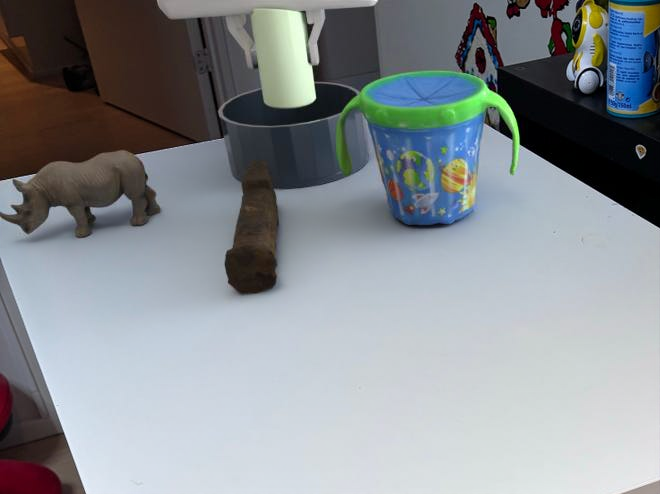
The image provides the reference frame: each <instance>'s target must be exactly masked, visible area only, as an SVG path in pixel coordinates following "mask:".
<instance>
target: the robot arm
mask: <svg viewBox="0 0 660 494" xmlns="http://www.w3.org/2000/svg"><path fill="white" fill-rule="evenodd" d="M378 1H379V0H156V2H157V7H158V8H159V10H160V11H161V12H162V13H163V14H164V15H165V16H166V17H167V18H168V19H170V20H185V19H199V18H201V19H202V18H215V17H225V21H226V28H227V30H228V32H229V33H230V34H231V36H232V37H233V38H234V40H235V41H236V42H237V44H238V45H239V46H240V48H241V49H242V50H243V51H244V55H245V62H246V66H247V69H248V70H259V68H258V60H257V53H256V49H255V43H254V40H252V38H251V36H249V34H248V33H247V31H246V29H245V28H244V27H245V25H246V23H247V16H246V15H250V14H253V12H254V9H283V10H291V11H299V12H304V11H305V17H306V24H308V25H313V26H312V30H311V33H310V35H309V37H308V40H309V41H308V44H307V45H306V52H307V60H308V64H309V65H310V66H312V67H313V66H318V65H320V64H319V63H320V53H319V48H318V47H319V46H318V40H319V37H320V35H321V31H322V30H323V26H324V23H325V20H326V12H325V10H335V9H336V10H337V9H352V8H366V7H373V6H375V5H376V4H377V3H378Z"/></svg>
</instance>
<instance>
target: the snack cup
mask: <svg viewBox="0 0 660 494" xmlns="http://www.w3.org/2000/svg"><path fill="white" fill-rule="evenodd" d="M359 92H360V94H359V95H357V96H356V97H354V98H353V99H352V100H351V101H350V102H349V103H348V104H347V106H346V107H345V108H344V110H343V111H342V113H341V115H340V118H339V121H338V124H337V130H336V152H337V158H338V162H339V166H340V168H341V171H342V173H343V174H344V175H345V176H346V177H349V176H351V175H352V174H351V171H352V162H351V159H350V154H349V150H348V146H347V142H346V138H345V134H344V131H345V124H346V118H347V116H348V114H349V113H350V112H351V111H352V110H353V109H354V108H355V109H358V110H360V111H361V112H362V114H363V115H364V117H365V121H366V122H367V127H368V130H369V133H370V136H371V141H372V145H373V149H374V153H375V157H376V162H377V166H378V169H379V173H380V177H381V178H380V179H381V182H382V185H383V188H384V191H385V194H386V202H387V204H388V206H389V209H390V212H391V213H392V216H394V217H395V218H396V219H397V220H399V221H401V222H402V223H404V224H406V225H408V226H412V225H414V226H415V225H417V226H432V225H435V224H442V225H443V224H444V225H452V224H453V223H454V222H455V221H458V220H461V219H464V218H465V216H467V215H469V213H470V212H473V211H474V208H475V203H476V199H477V198H476V197H477V185H478V175H479V163H480V151H481V141H482V138H483V132H484V125H485V119H486V114H487V109H488V108H490V107H491V108H495V109H496V110H497V111H498V113H499V115H500V117H501V118H502V119H503V121H504V122H505V124H506V125H507V127H508V129H509V131H510V132H511V134H512V142H511V164H510V167H509V174H510V175H511V176H514V175H515V172H516V170H517V169H516V168H517V164H518V160H519V154H520V153H519V152H520V133H519V127H518V122H517V119H516V117H515V114H514V112H513V110H512V109H511V107H510V105H509V104H508V103H507V101H506V100H505V99H504V98H503V97H502V96H501V95H499V94H498V93H496V92H494V91H493V90H490V89H489V87H488V86H487V84H486V82H485V81H484V80H483V79H481V78H480V77H478V76H475V75H474V74H469V73H465V72H458V71H451V70H419V71H410V72H409V71H408V72H403V73H397V74H393V75H389V76H385V77H381V78H379V79H376V80H374V81H371V82H370V83H368V84H366V85H365V86H364V87H363V88H362V89H361V90H360V91H359ZM350 174H351V175H350Z"/></svg>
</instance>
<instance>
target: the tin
mask: <svg viewBox="0 0 660 494" xmlns="http://www.w3.org/2000/svg"><path fill="white" fill-rule="evenodd" d="M314 87H315V94H316V99H315V100H314V102H312V103H311V104H309V105H306V106H303V107H298V108H289V109H280V108H273V107H270V106H267V105H266V104H265V103H264V99H263V93H262V87H259V88H255V89H252V90H249V91H246V92H243V93H239V94H238V95H236V96H234V97H231V98H229V99H228V100H227V101H225V102H224V103H222V104H221V106H220V107H219V109H218V110H217V112H218V117H219V122H220V127H221V131H222V135H223V140H224V145H225V149H226V154H227V158H228V163H229V167H230V173H231V174H232V176H233V178H234V179H235V180H237V181H238V182H240V183H241V182H242V176H243V174H244V173H245V171H246V169H247V166H248V165H249V164H250V163H252V162H255V161H257V160H262V161H264V162H266V164H267V165H268V166H269V169H270V173H271V177H272V182H273V187H274V189H281V190H282V189H297V188H307V187H314V186H320V185H323V184H327V183H331V182H335V181H338V180H341V179H344V178H346V177H347V176H345V175H344V174H343V173H342V171H341V168H340V166H339V162H338V158H337V152H336V130H337V124H338V121H339V118H340V115H341V113H342V111H343V110H344V108H345V107H346V106H347V104H348V103H349V102H350V101H351V100H352V99H353V98H354V97H356V96H357V95H359V94H360V92H361V91H360V90H358V89H356V88H354V87H352V86H349V85H346V84H342V83H336V82H335V83H334V82H328V81H327V82H326V81H314ZM366 122H367V121H366V119H365V117H364V115H363V114H362V112H361V111H360V110H358V109H355V108H354V109H353V110H352V111H351V112H350V113H349V114H348V116H347V118H346V124H345V131H344V134H345V138H346V142H347V146H348V150H349V154H350V159H351V162H352V171H351V174H350V175H349V176H351V175H353V174H355V173H357V172H359V171H360V170H362V169H363V168H364V166H366V165H367V163H368V162H369V159H370V147H369V138H368V131H367V123H366Z"/></svg>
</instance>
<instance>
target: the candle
mask: <svg viewBox="0 0 660 494" xmlns="http://www.w3.org/2000/svg"><path fill="white" fill-rule="evenodd" d="M249 17H250V24H251V31H252V37H253V43H254V44H255V49H256V53H257V60H258V68H259V69H258V75H259V79H260V80H259V81H260V86H261V88H262V93H263V99H264V103H265V104H266V105H267V106H270V107H273V108H280V109H289V108H298V107H303V106H306V105H309V104H311V103H312V102H314V100H315V99H316V94H315V87H314V82H315V80H314V72H313V66H310V65H309V64H308V60H307V52H306V45H307V44H308V41H309V34H308V33H309V32H308V25H307V24H308V23H307V17H306V12H304V11H291V10H283V9H254V12H253V14H249Z"/></svg>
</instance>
